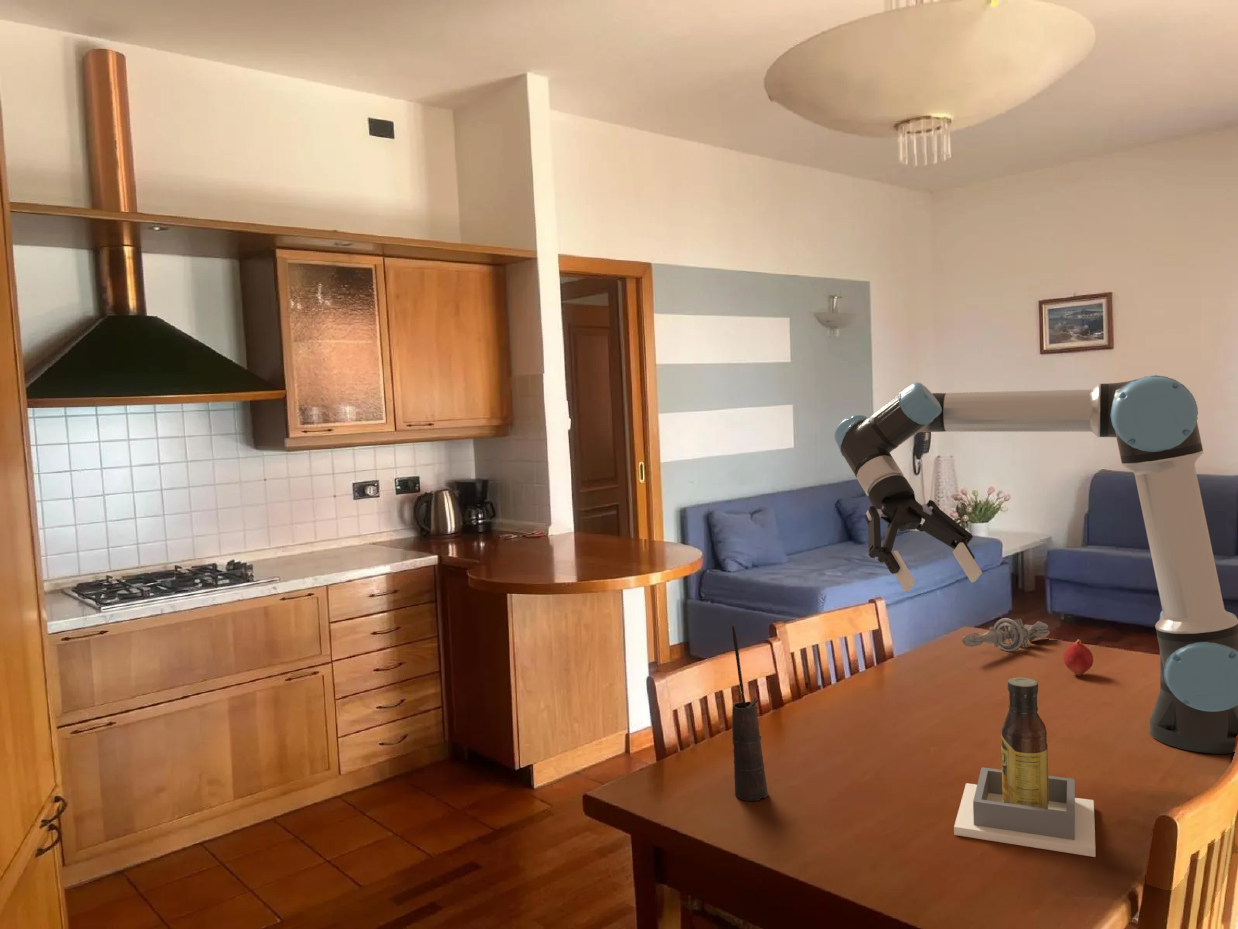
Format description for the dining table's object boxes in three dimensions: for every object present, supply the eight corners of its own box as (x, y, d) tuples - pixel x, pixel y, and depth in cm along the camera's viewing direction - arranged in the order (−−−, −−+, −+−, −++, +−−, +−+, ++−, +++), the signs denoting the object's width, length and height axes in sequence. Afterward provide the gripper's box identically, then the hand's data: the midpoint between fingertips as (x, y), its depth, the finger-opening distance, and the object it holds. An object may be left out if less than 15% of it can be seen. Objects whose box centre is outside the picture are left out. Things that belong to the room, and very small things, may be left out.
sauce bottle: (1010, 799, 140) (1007, 671, 138) (1054, 810, 136) (1052, 677, 134) (996, 815, 135) (993, 682, 133) (1041, 827, 131) (1039, 689, 129)
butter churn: (765, 776, 156) (758, 613, 154) (795, 798, 147) (789, 624, 145) (716, 787, 152) (709, 620, 150) (744, 809, 143) (737, 632, 142)
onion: (1057, 673, 203) (1057, 638, 202) (1078, 670, 204) (1078, 634, 204) (1078, 681, 197) (1077, 644, 197) (1099, 677, 199) (1099, 640, 198)
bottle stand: (1093, 808, 138) (1093, 777, 138) (1095, 857, 124) (1095, 823, 124) (966, 790, 146) (965, 761, 146) (954, 835, 132) (953, 803, 132)
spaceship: (944, 627, 215) (972, 620, 209) (1028, 617, 236) (1056, 610, 230) (954, 661, 213) (983, 655, 207) (1038, 648, 233) (1066, 642, 227)
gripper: (933, 494, 174) (992, 586, 161) (819, 506, 166) (871, 604, 153) (951, 468, 169) (1014, 560, 156) (834, 478, 160) (890, 577, 147)
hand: (944, 582), depth 154 cm, fingers open, 13 cm apart
